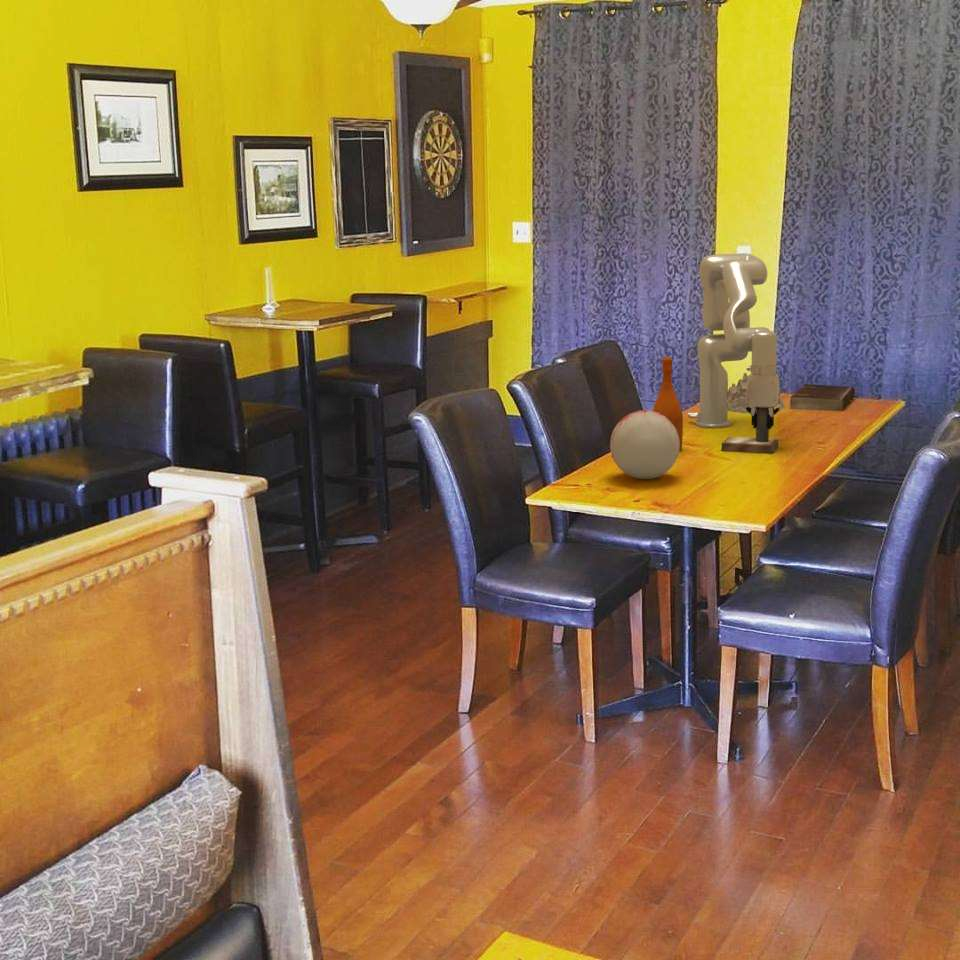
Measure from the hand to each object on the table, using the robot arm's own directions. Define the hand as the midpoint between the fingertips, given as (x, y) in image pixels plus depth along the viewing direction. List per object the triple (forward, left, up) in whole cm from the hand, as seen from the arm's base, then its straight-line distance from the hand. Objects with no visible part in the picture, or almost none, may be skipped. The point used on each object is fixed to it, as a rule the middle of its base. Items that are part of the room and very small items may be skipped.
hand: (762, 427), depth 387 cm
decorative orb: (-25, -47, -7) cm, 53 cm away
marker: (0, 0, -4) cm, 4 cm away
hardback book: (+6, +85, -8) cm, 86 cm away
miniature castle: (-18, +67, -8) cm, 70 cm away
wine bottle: (-29, -8, -7) cm, 31 cm away
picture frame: (-4, 0, -7) cm, 8 cm away
